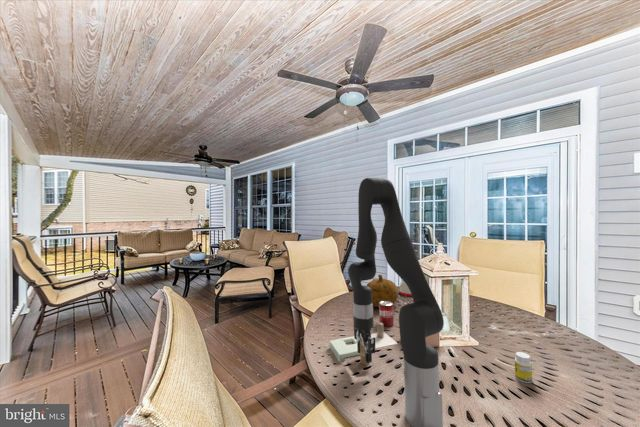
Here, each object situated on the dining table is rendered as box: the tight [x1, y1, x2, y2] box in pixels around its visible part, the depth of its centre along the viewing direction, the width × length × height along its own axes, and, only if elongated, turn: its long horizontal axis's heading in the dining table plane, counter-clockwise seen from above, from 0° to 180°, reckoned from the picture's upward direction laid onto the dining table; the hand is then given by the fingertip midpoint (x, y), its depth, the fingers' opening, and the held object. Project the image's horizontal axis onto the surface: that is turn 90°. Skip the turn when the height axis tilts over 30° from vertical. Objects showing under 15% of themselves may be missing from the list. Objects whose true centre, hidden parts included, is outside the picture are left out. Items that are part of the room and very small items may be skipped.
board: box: [371, 321, 398, 349], centre depth 117 cm, size 12×12×8 cm
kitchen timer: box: [398, 280, 412, 297], centre depth 184 cm, size 14×14×15 cm
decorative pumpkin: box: [365, 274, 399, 308], centre depth 163 cm, size 20×21×20 cm
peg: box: [359, 340, 370, 366], centre depth 100 cm, size 3×3×10 cm
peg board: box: [329, 335, 360, 363], centre depth 111 cm, size 12×12×3 cm
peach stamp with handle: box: [426, 332, 440, 348], centre depth 114 cm, size 11×11×15 cm
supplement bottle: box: [514, 351, 533, 384], centre depth 90 cm, size 5×5×8 cm
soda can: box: [378, 301, 395, 328], centre depth 133 cm, size 7×7×12 cm
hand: (364, 357), depth 100 cm, fingers open, 6 cm apart
